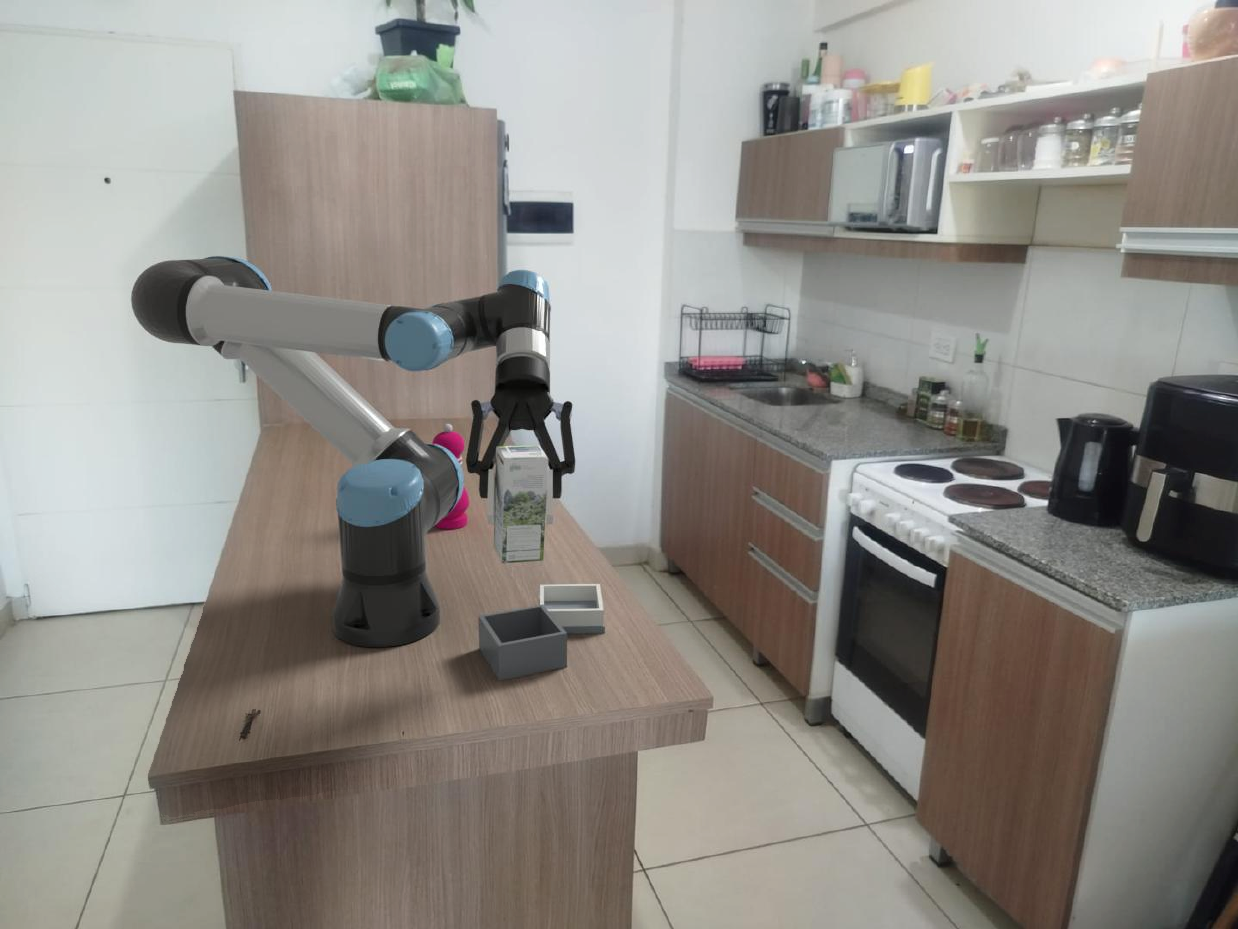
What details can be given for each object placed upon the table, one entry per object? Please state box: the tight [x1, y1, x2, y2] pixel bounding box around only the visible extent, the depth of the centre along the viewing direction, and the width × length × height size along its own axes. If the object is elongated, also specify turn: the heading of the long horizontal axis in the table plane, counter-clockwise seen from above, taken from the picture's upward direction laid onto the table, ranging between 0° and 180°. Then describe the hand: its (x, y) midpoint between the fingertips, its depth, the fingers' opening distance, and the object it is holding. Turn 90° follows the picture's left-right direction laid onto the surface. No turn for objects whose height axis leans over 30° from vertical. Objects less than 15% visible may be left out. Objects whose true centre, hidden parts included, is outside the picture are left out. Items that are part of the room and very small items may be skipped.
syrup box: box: [493, 444, 549, 564], centre depth 112 cm, size 6×6×14 cm
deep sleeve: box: [478, 604, 568, 682], centre depth 117 cm, size 9×9×5 cm
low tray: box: [538, 583, 606, 634], centre depth 129 cm, size 10×10×4 cm
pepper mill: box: [431, 423, 470, 530], centre depth 164 cm, size 7×7×20 cm
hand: (520, 519), depth 109 cm, fingers closed on syrup box, 7 cm apart
